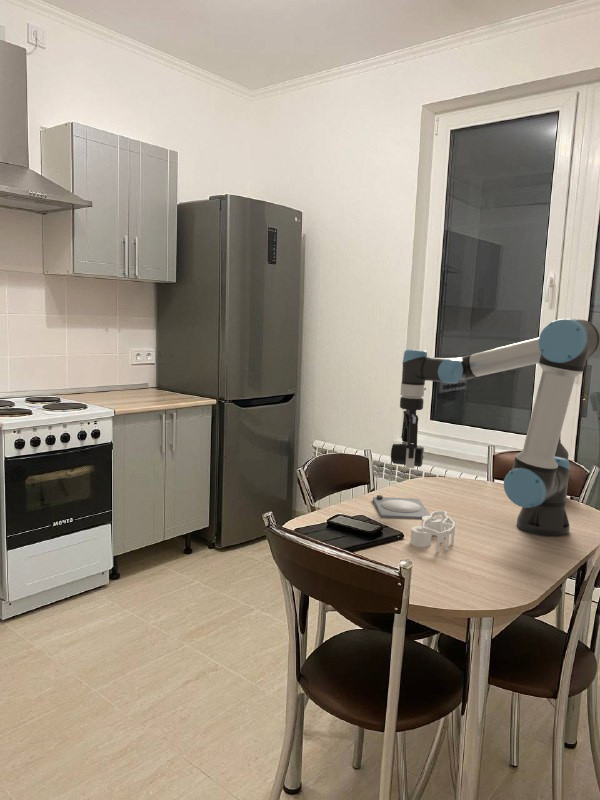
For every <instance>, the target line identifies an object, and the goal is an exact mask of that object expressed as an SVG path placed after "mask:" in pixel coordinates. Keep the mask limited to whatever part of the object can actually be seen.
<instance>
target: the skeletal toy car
mask: <svg viewBox="0 0 600 800" xmlns="http://www.w3.org/2000/svg"><path fill="white" fill-rule="evenodd" d="M429 514H430V516H423V517H422V519H421V524H420V525H415V526H412V527H411V529H410V544H411V546H414V547H417V548H429V547H431V545H432V536H436V552H435V553H437V554H440V547H441V543H442V544H443V543H444V542H445V543H444V544H445V545H444V551H445V550H446V551H445V552H448V551H449V541H450V545H452V546H453V545H454V544H455V543H454V542H455V532H456V522H455V521H454V520H453V518H451V517H449V516H448V515H447V514H448V512H447V511H445V510H435V511H432V512H431V513H429ZM439 516H441V518H440V517H439ZM444 538H445V541H444Z"/></svg>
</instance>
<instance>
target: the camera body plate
mask: <svg viewBox="0 0 600 800" xmlns="http://www.w3.org/2000/svg"><path fill="white" fill-rule="evenodd" d="M372 502H373V504H374V506H375V508H376V510H377V512H378V514H379V516H380V518H382V519H408V520H409V519H411V520H413V519H414V520H422V517H423V516H430V514H431V513H429V511H428V509H427V508H426V507H425V506H424V504H423V502H422V500H420V499H419V498H411V497H388V496H387V497H385V496H383V495H381V494H377V495H376V496H372Z"/></svg>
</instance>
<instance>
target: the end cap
mask: <svg viewBox="0 0 600 800" xmlns="http://www.w3.org/2000/svg"><path fill="white" fill-rule="evenodd" d="M406 446H408V445H405V444H402V443H398V444H397V443H393V444H392V446H391V449H390V461H391V462H392V463H393V464H394V465H402V466H405V464H406V450H407V448H405V447H406ZM424 449H425V447H424V446H422V445H417V448H416V449H415V461H414V467H418V468H421V467H422V466H423V460H424V452H425V450H424Z"/></svg>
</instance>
